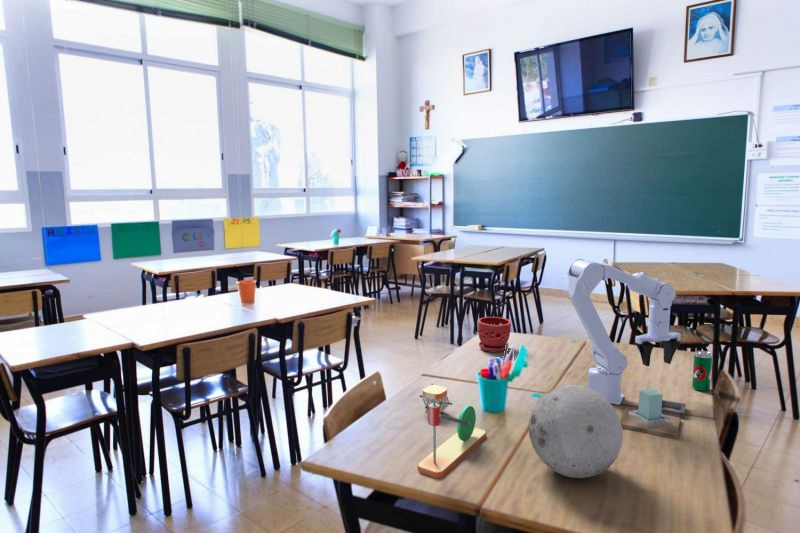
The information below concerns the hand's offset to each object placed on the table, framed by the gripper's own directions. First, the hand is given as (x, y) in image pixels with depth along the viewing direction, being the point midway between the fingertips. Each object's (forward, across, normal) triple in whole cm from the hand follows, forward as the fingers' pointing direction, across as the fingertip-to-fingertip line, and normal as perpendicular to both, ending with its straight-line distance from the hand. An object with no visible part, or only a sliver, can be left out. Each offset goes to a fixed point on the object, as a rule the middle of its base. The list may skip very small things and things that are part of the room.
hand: (656, 364), depth 161 cm
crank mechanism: (+10, -72, -17) cm, 75 cm away
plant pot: (+10, -28, +58) cm, 65 cm away
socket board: (+10, -16, -17) cm, 25 cm away
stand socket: (+10, -4, -11) cm, 16 cm away
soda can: (+10, +17, 0) cm, 20 cm away
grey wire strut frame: (+10, -69, +6) cm, 70 cm away
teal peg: (+9, -16, -17) cm, 25 cm away
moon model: (+10, -49, -33) cm, 60 cm away
